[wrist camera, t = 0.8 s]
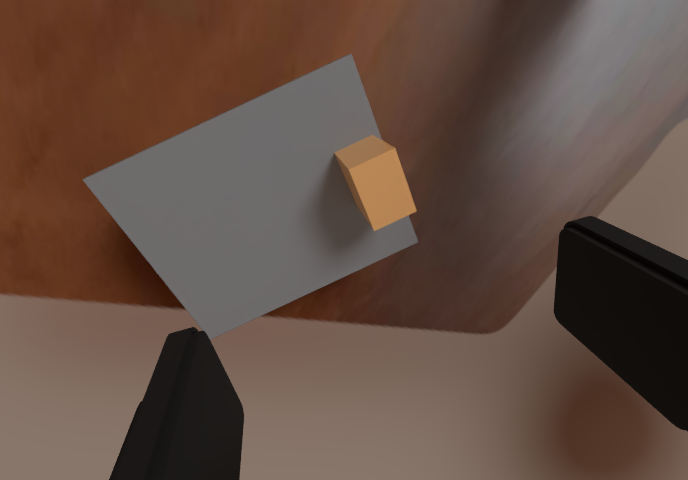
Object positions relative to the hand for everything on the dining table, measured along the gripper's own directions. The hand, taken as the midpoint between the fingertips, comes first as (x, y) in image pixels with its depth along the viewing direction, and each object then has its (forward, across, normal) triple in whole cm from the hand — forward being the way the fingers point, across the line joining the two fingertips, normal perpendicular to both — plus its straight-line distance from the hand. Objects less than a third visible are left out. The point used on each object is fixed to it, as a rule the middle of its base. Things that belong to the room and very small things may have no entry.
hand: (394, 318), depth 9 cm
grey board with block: (+20, +4, +3) cm, 21 cm away
